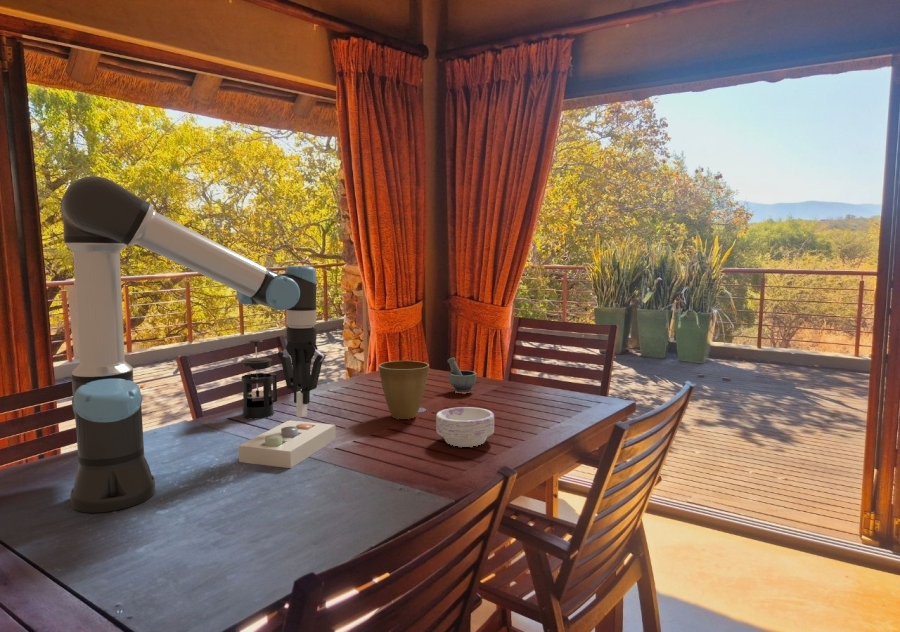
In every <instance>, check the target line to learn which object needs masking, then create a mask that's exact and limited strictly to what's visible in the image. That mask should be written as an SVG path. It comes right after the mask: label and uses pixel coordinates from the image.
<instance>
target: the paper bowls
mask: <svg viewBox="0 0 900 632" xmlns="http://www.w3.org/2000/svg"><path fill="white" fill-rule="evenodd" d="M435 418H436V419H435V425H436V428H435V429H436V430H435V431H436V434H437V435H439V436H441V437H443V439H444V441H445V442H446V444H448V445H449V444H450V445H449V446H452V445H453V446H452V447H455V446H458V447H457V448H462V447H470V448H474V447H473V446H476V447H479V446H478V445H480V446H481V444H482V445H483V444H485V442H486V440H487V438H488V437H490V436H492V435H493V434H494V433H495V413H493V412H492V411H491V410H489V409H486V408H482V407H473V406H472V407H470V406H469V407H468V406H460V407H450V408H445V409H442V410H441V409H440V410H439V411H438V412H436V415H435Z"/></svg>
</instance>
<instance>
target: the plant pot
mask: <svg viewBox="0 0 900 632" xmlns="http://www.w3.org/2000/svg"><path fill="white" fill-rule="evenodd" d="M429 367H430V364H429V363H427V362H423V361H418V360H416V361H415V360H392V361H386V362H382V363H380V364H378V369H379V370H378V371H379V375H380V379H381V380H380V383H381V386H382V391H383V394H384V398H385V401H386V404H387V405H386V406H387V408H388V411H389V413H390V416H391V418H392V417H393V419H394V418H396V419H395V420H399V419H408V420H410V419H409V418H413V417H415V418H416V417H417V415H418V413H419V410H420V408H421V404H422V401H423V397H424V395H425V389H426V384H427V381H428V374H429ZM413 419H414V418H413Z"/></svg>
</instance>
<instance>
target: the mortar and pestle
mask: <svg viewBox="0 0 900 632" xmlns="http://www.w3.org/2000/svg"><path fill="white" fill-rule="evenodd" d="M447 363H448V364H449V366H450V369H451V371H450V372H449V373H448V380H449V383H450V385H451V387H453V388H454V389H453V392H454V391H457V392H469V391H471V390H472V388H473V387H474V386H475V384H476V382H477V379H478V373H477V372H475V371H472V370H461V369H460V367H459V366H458V364H457V362H456V358H455V357H451V358H449V359H447Z"/></svg>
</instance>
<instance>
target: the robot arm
mask: <svg viewBox="0 0 900 632" xmlns="http://www.w3.org/2000/svg"><path fill="white" fill-rule="evenodd" d="M60 210H61V211H60V212H61V215H62V224H63V243H64V245H65V246H66V247H67V248H69V250H70V251H71V252H72V253H73V265H74V266H73V267H74V288H75V290H74V291H75V306H76V325H77V327H76V328H77V342H78V345H77V346H78V363H79V364H78V365H77V366H76V367H75V368H74V369H73V370H72V371H71V384H72V385H71V386H72V397H71V407H72V412H73V413H74V421H75V432H76V434H75V435H76V445H77V460H78V467H77V470H76V471H77V472H76V475H75V479H74V484H73V488H71V491H70V495H69V497H70V499H69V500H70V507H71V508H72V509H73V510H75V511H78V512H80V513H89V514H90V513H92V514H93V513H107V512H114V511H119V510H123V509H127V508H132V507H134V506H136V505H139V504H141V503H144V502H146V501H147V500H149V499H150V498H152V497H153V496H154V494H155V493H156V491H157V489H156V480H155V476H154V475H153V474H152V471H151V469H150V465H149V463H148V461H147V459H146V457H145V447H144V445H145V443H144V429H143V413H142V412H143V411H142V410H143V409H142V408H143V407H142V403H143V396H142V393H141V388H140V385H139V384H137V383H136V382H135V381H134V368H133V366H131V364H129V363H128V362H127V361H126V360H125V340H124V339H125V338H124V337H125V336H124V317H123V314H124V313H123V295H122V274H121V271H122V270H121V252H122V250H124V248H126V247H127V246H128V247H129V246H130V247H131V246H133V245H138V246H139V247H142V248H145V250H147V251H150V252H153V253H155V254H157V255H159V256H162V257H164V258H166V259H167V260H170V261H172V262H174V263H176V264H178V265H181V266H182V267H184V268H187V269H189V270H191V271H194V272H195V273H198V274H200V275H202V276H204V277H207V278H208V279H211V280H212V281H215V282H217V283H219V284H222V285H223V286H225V287H227V288H230V289H232V290H234V291H235V293H236V298H237V300H238V302H239V303H240V304H241V305H251V306H254V305H256V306H257V305H261V306H264V307H268V308H272V309H274V310H277V311H285V310H286V311H285V313H286V316H285V320H286V321H285V322H286V323H285V324H286V326H287V327H286V331H285V332H286V333H285V335H286V341H287V343H286V345H285V348H284V349H283V350H281V351H279V352H277V356H278V358H279V359H280V361H281V366H282V371H283V376H284V379H285V386H286V388H287V389H290V390H292V391H293V402H294V404H296V418H303V417H306V416H307V415H308V404H310V401H311V399H310V398H311V397H310V396H311V393H310V392H311V391H313V390H315V389H317V387H318V384H319V379H320V375H321V374H320V373H321V370H322V365H323V362H324V360H325V359H326V356H327V355H326V354H325V353H321V352H320V351H319V350H318V346H317V327H316V326H315V325H317V285H318V282H317V272H316V269H315V268H314V266H309V265H308V266H307V265H289V266H287V267H286V268H285V273H277V272H275V271H273V270H271V269H269V268H266V267H265V266H264V265H261V264H260V263H257V262H256V261H254V260H252V259H249V258H248V257H246V256H244V255H242V254H240V253H238V252H236V251H234V250H232V249H230V248H228V247H226V246H224V245H222V244H220V243H218V242H217V241H214V240H212V239H210V238H209V237H207V236H204V235H203V234H200V233H199V232H196V231H195V230H192V229H190V228H189V227H187V226H185V225H183V224H181V223H179V222H177V221H175V220H173V219H171V218H169V217H167V216H166V215H163V214H161V213H159V212H157V211H156V210H155V209H154V206H153V204H152V203H150V202H148V201H146V200H145V199H143V198H142V197H139V196H137V195H135V194H134V193H132V192H131V191H129V190H127V189H126V188H124V187H123V186H121V185H120V184H118V183H117V182H114V181H113V180H111V179H108V178H106V177H102V176H98V175H96V176H93V175H92V176H91V175H90V176H84V177H81V178H79V179H78V178H77V179H76V180H75V181H73V182H71V184H70V185H69V186H68V187H67V188H66V190H65V192H64V193H63V195H62V198H61V202H60ZM313 359H314V361H313V362H312V360H313ZM312 363H313V364H312Z"/></svg>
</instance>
